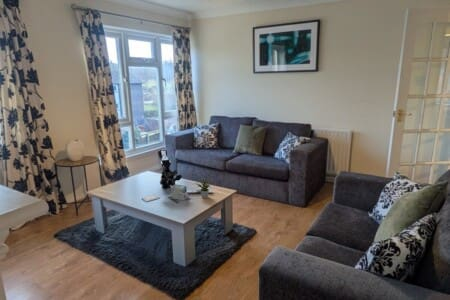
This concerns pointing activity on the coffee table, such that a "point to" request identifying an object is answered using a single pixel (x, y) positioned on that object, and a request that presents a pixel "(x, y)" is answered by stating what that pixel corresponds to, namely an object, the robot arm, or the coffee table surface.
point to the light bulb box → (179, 192)
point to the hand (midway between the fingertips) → (174, 188)
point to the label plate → (150, 198)
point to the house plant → (204, 188)
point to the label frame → (175, 200)
